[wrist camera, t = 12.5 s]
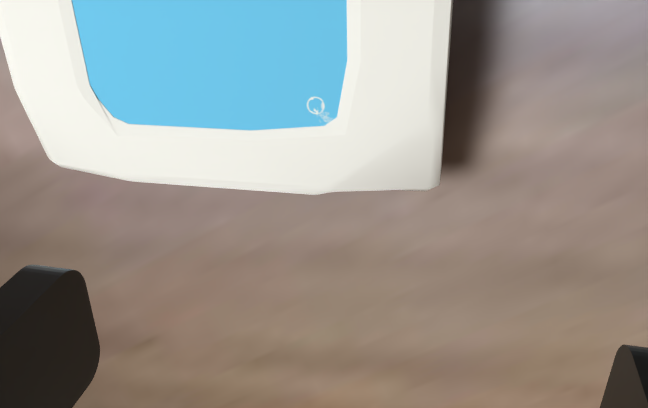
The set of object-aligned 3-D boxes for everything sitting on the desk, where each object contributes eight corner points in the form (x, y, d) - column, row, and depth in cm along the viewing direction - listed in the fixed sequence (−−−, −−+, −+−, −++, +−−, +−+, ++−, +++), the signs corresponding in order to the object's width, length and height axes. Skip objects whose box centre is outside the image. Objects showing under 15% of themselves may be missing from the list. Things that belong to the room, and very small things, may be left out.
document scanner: (13, -167, 39) (-60, -172, 34) (466, -191, 33) (464, -201, 28) (85, 141, 49) (37, 175, 44) (442, 163, 43) (437, 205, 38)
